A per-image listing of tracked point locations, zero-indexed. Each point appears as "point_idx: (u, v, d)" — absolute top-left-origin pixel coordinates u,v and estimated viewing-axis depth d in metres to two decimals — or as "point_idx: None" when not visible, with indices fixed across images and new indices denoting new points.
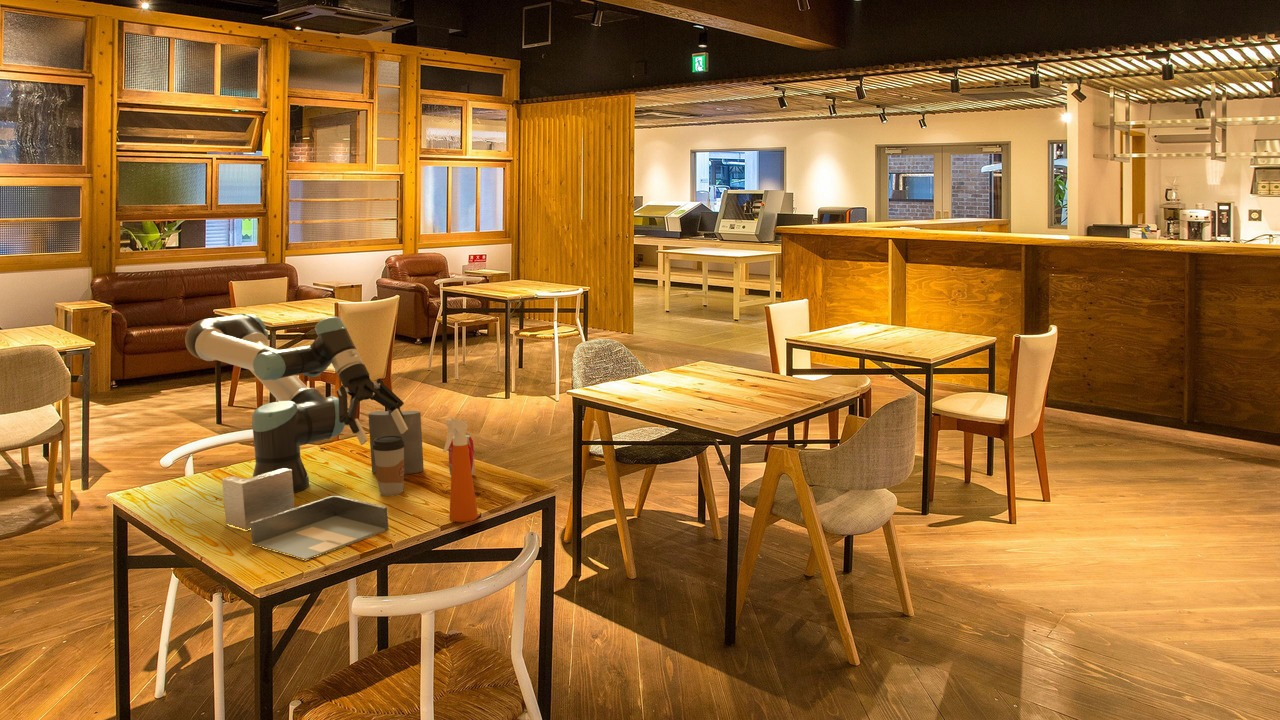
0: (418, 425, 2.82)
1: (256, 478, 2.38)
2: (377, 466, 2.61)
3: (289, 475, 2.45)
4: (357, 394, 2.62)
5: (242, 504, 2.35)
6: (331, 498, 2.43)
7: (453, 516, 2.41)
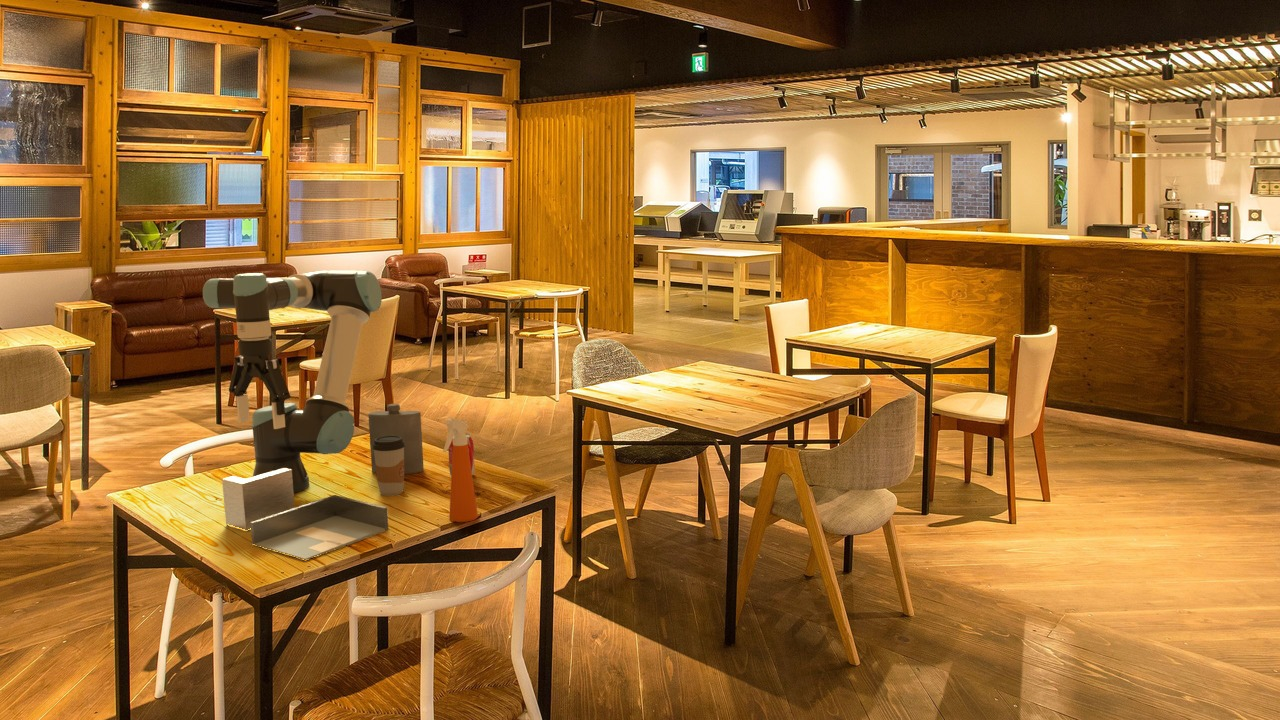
0: (418, 425, 2.82)
1: (256, 478, 2.38)
2: (377, 466, 2.61)
3: (289, 475, 2.45)
4: (242, 372, 2.37)
5: (242, 504, 2.35)
6: (331, 498, 2.43)
7: (453, 516, 2.41)
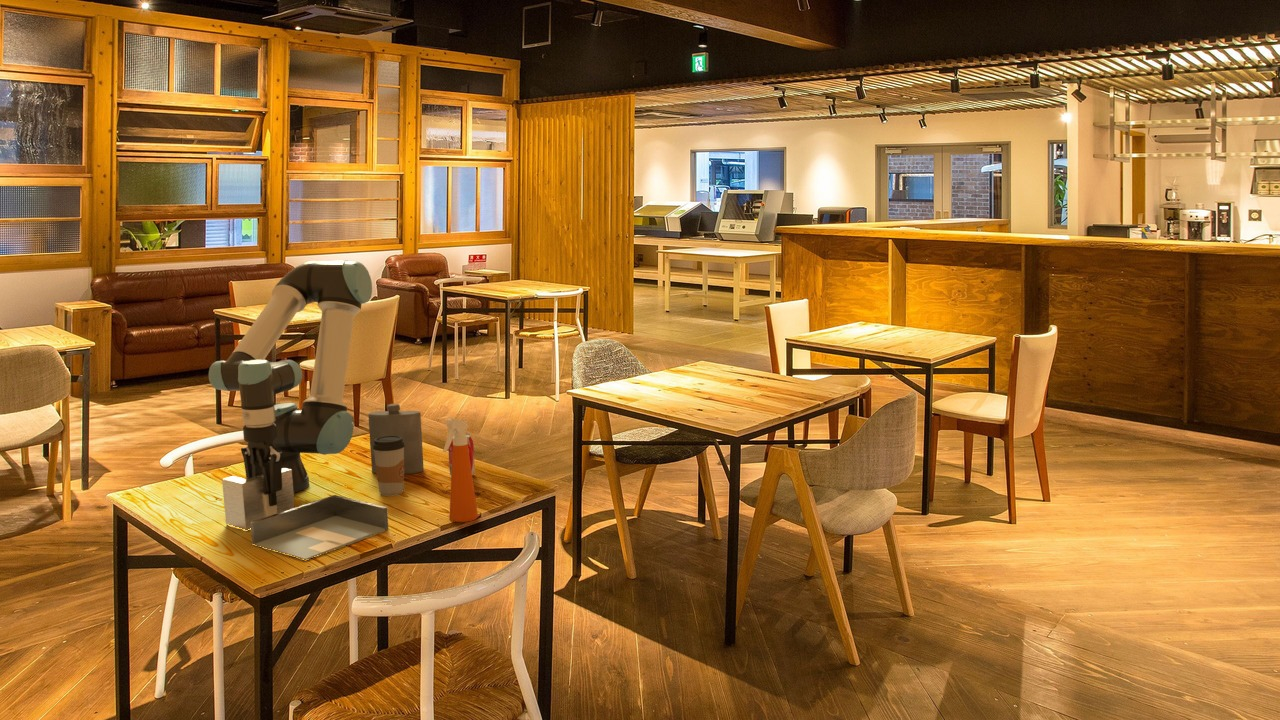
0: (418, 425, 2.82)
1: (256, 478, 2.38)
2: (377, 466, 2.61)
3: (289, 475, 2.45)
4: (251, 460, 2.39)
5: (242, 504, 2.35)
6: (331, 498, 2.43)
7: (453, 516, 2.41)
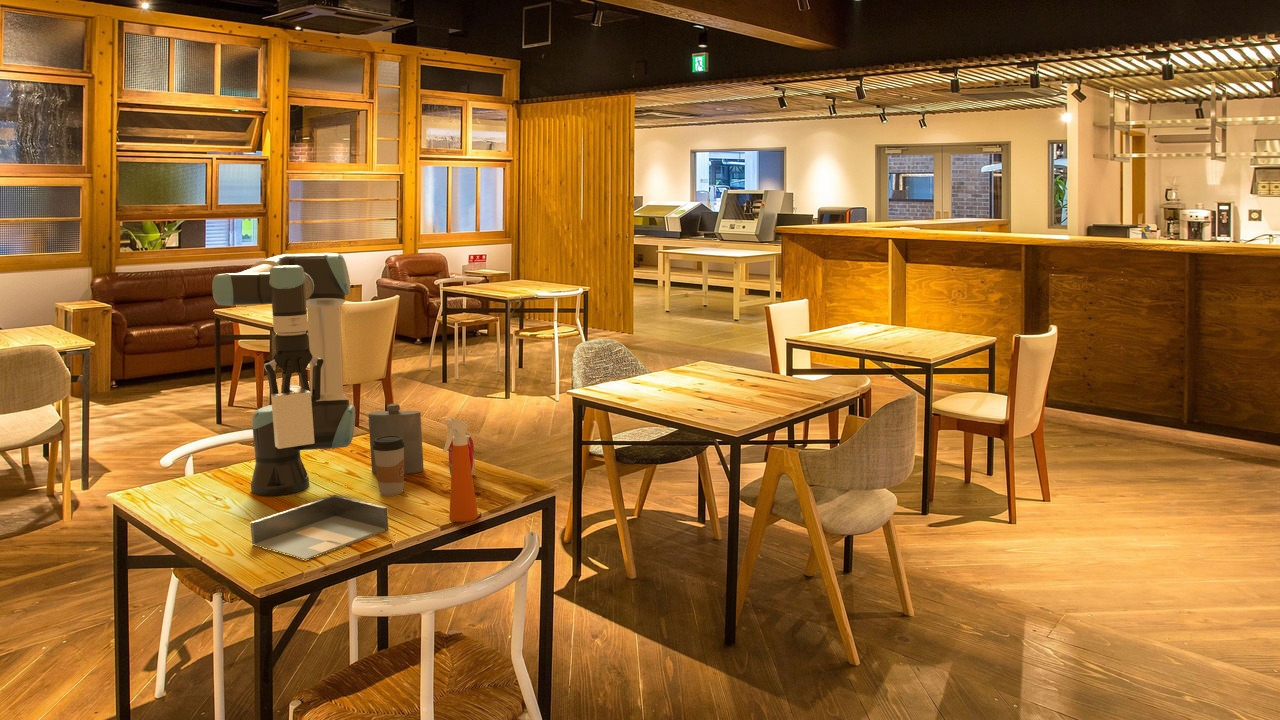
0: (418, 425, 2.82)
1: (300, 389, 2.26)
2: (377, 466, 2.61)
3: None
4: (287, 373, 2.25)
5: (310, 414, 2.23)
6: (331, 498, 2.43)
7: (453, 516, 2.41)
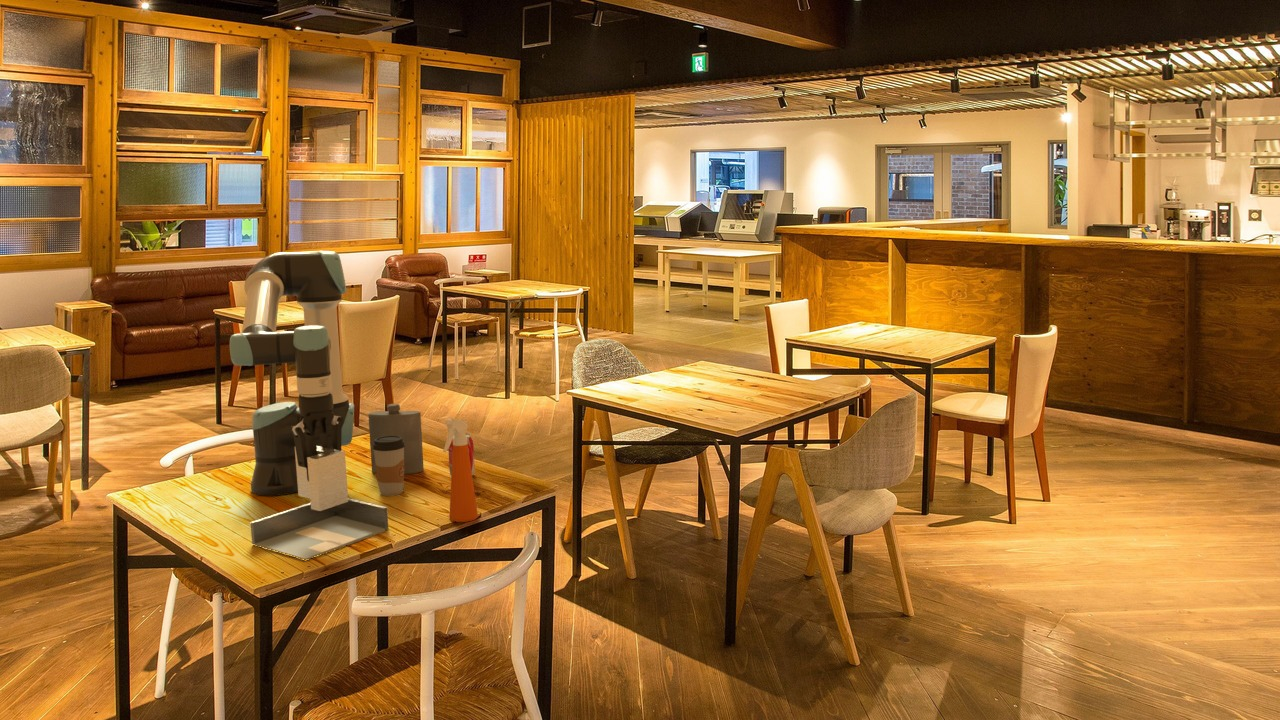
0: (418, 425, 2.82)
1: (328, 449, 2.26)
2: (377, 466, 2.61)
3: None
4: (315, 434, 2.23)
5: (344, 473, 2.24)
6: None
7: (453, 516, 2.41)
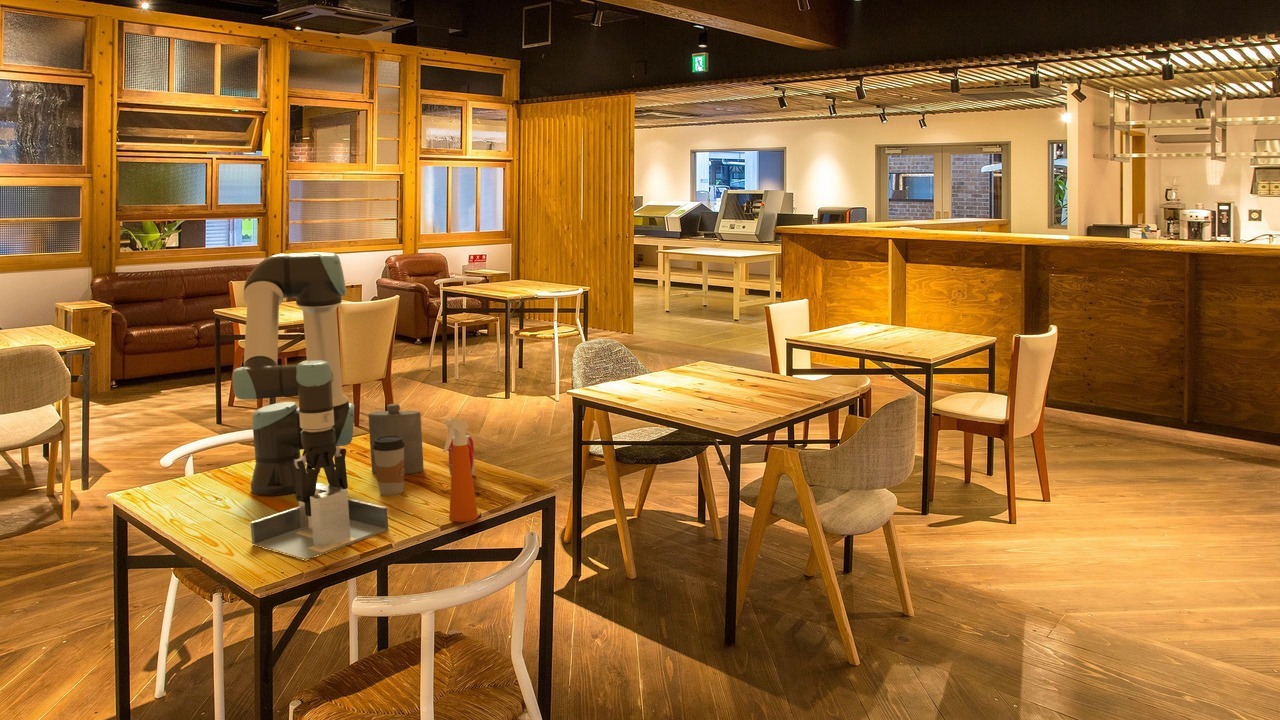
0: (418, 425, 2.82)
1: (330, 487, 2.27)
2: (377, 466, 2.61)
3: None
4: (317, 468, 2.25)
5: (346, 512, 2.26)
6: None
7: (453, 516, 2.41)
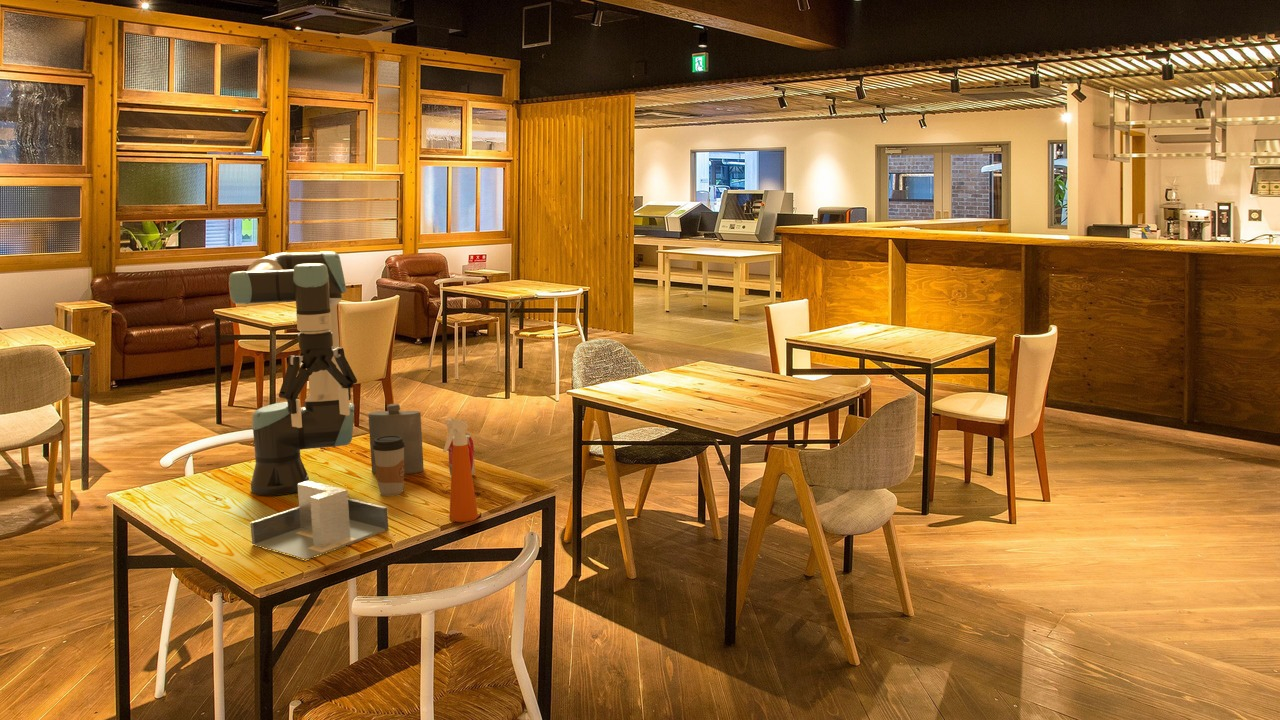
0: (418, 425, 2.82)
1: (330, 487, 2.27)
2: (377, 466, 2.61)
3: None
4: (310, 369, 2.24)
5: (346, 512, 2.26)
6: None
7: (453, 516, 2.41)
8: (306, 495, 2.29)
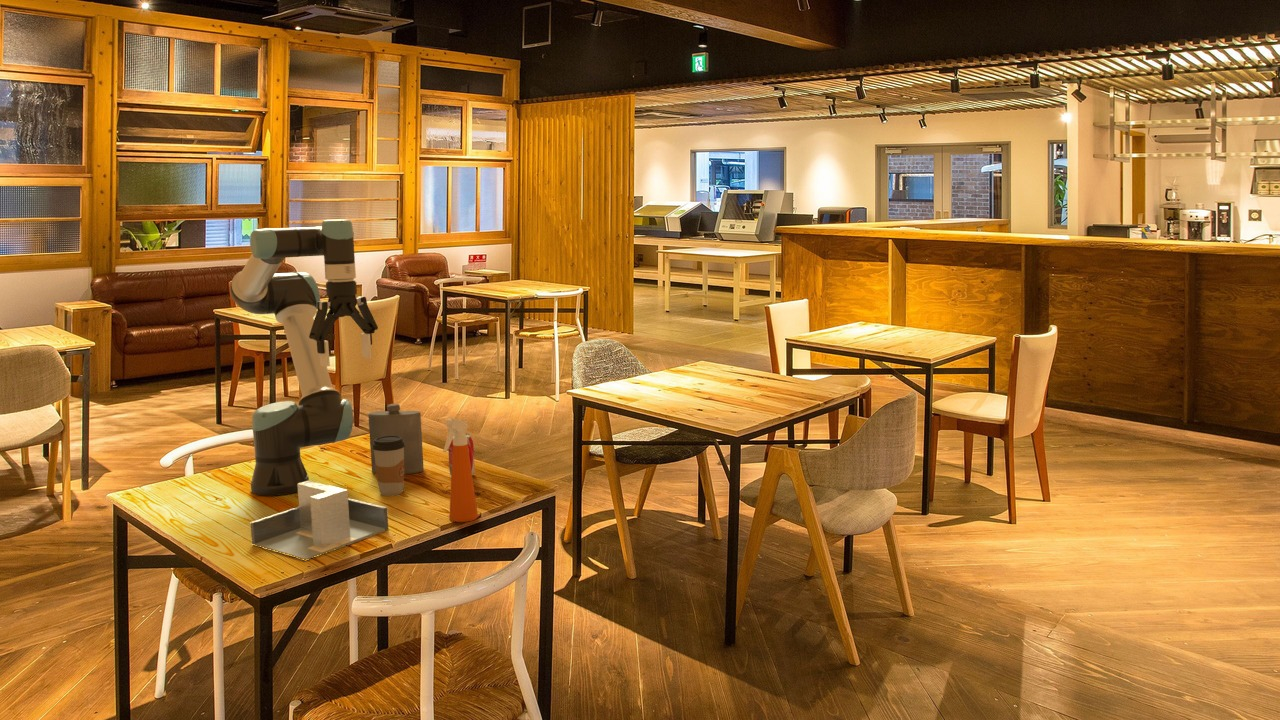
0: (418, 425, 2.82)
1: (330, 487, 2.27)
2: (377, 466, 2.61)
3: None
4: (337, 313, 2.49)
5: (346, 512, 2.26)
6: None
7: (453, 516, 2.41)
8: (306, 495, 2.29)
